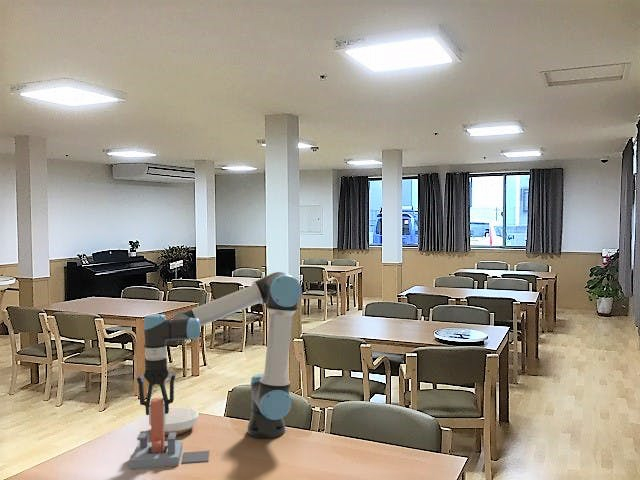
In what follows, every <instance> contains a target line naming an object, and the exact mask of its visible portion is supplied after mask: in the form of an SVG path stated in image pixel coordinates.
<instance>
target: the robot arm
mask: <svg viewBox="0 0 640 480" xmlns="http://www.w3.org/2000/svg"><path fill="white" fill-rule="evenodd" d="M302 294H303V290H302V285H301V283H300V281H299V280H298V279H297V277H295V276H294V275H292V274H291V273H285V272H283V271H282V272H280V271H277V272H273V273H270V274H268V275H266V276H264V277H262V278H259V279H257V280H255V281H253V282H252V284H251V285H250V286H247V287H244V288H242V289H239V290H237V291H234V292H232V293H230V294H226V295H223V296H221V297H220V298H216V299H214V300H211V301H208V302H206V303H204V304H201V305H199V306H196V307H194V308H191V309H189V310H186V311H182V312H181V311H180V312H177V313H176V314H174V315H173V317H172V319H167V317H166V315H165V314H162V313H160V314H159V313H154V314H148V315H146V316H145V317H144V320H143V335H144V359H145V360H144V374H142V375H139V376H137V378H136V381H137V384H138V395H139V405H140V406H144V407H145V415H146V416H148V425H149V426H151V400H152V393H153V387H154V385H159V387H160V388H159V389H160V393H161V395H162V398H163V400H164V404H163V424H165V423H166V414H168V412H169V409H170V406H169V405H170V404H173V402H174V400H175V379H176V376H177V375H176V374H175V373H170V372H169V370H168V358H167V356H168V355H167V354H168V353H167V348H168V347H167V346H168V345H167V342H168V341H169V342H170V341H183V340H184V341H185V340H189V341H190V340H194V339H199V338H200V336H201V327H203V326H205V325H207V324H211V323H212V322H215V321H217V320H220V319H222V318H225V317H227V316H230V315H233V314H234V313H237V312H240V311H242V310H245V309H248V308H250V307H253V306H255V305H257V304H260V305H264V304H266V310H267V311H268V312H269V319H268V320H269V321H268V331H267V340H266V353H265V361H264V372H263V373H261V374H256V375H255V374H254V375H253V376H252V377H251V381H250V385H251V386H250V388H251V390H250V392H251V393H250V394H251V396H250V397H251V400H250V401H251V415H250V418H249V421H248V425H247V434H248V436H250V437H253V438H257V439H271V438H277V437H280V436H283V434H285V433H286V424H285V421H284V417H285V416H287V415H288V413H290V411H291V407H292V399H291V396H290V389H291V388H290V387H291V381H290V380H289V378H288V366H289V357H290V345H291V334H292V326H293V325H292V324H293V315H294V314H295V313H296V312H297V311H298V304H299V301H300V300H301V298H302ZM167 378H168V380H169V397H168V394H167V389H166V385H165V384H166V383H165V380H166V379H167ZM145 380H146V382H147V383H148V388H147V389H148V390H147V393H146V394H147V395H146V398H145V385H144V382H145Z"/></svg>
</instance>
